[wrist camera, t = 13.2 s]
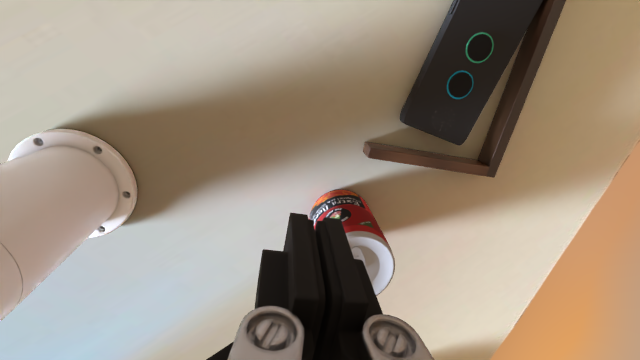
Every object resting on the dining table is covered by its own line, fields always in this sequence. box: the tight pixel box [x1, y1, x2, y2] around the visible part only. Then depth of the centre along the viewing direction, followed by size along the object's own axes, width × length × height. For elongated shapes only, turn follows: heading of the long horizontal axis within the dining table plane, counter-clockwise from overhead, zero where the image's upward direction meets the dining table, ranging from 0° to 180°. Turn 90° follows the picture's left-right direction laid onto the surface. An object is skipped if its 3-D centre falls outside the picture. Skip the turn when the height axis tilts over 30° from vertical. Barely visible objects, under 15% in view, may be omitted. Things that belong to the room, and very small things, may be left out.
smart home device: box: [400, 0, 543, 145], centre depth 35 cm, size 8×2×20 cm
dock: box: [363, 0, 566, 177], centre depth 34 cm, size 16×26×2 cm, turn 169°
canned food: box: [310, 190, 395, 296], centre depth 36 cm, size 8×8×11 cm
